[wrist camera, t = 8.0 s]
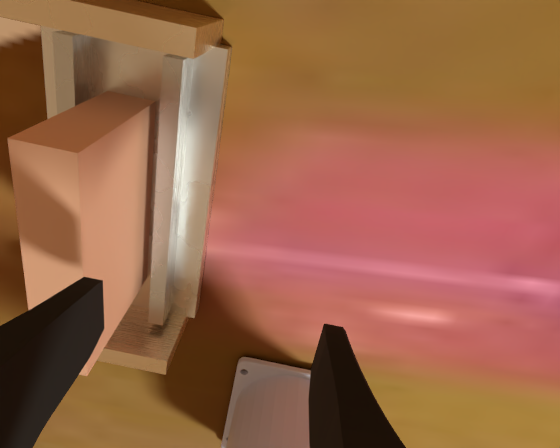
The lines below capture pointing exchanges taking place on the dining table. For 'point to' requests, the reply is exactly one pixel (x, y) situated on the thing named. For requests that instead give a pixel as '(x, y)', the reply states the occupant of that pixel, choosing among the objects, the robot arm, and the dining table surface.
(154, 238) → the door track
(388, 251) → the dining table surface
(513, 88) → the dining table surface
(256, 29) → the dining table surface
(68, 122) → the door panel
